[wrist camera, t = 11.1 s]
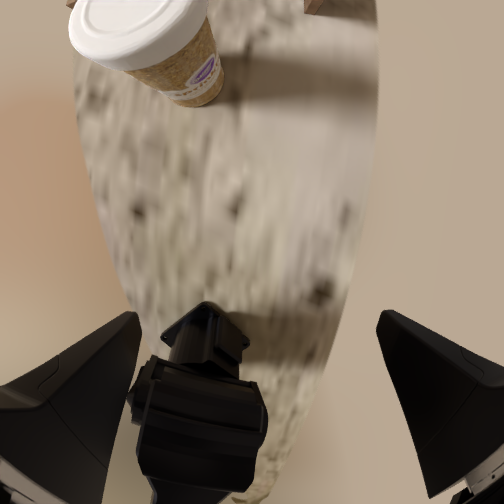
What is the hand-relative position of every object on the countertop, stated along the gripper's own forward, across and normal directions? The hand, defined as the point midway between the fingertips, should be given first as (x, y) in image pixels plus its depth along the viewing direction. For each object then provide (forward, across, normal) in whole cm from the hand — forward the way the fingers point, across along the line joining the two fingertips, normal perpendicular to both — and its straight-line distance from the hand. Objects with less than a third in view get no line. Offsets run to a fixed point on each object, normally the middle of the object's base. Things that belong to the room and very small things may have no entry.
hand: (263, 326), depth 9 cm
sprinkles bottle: (+13, +4, -11) cm, 18 cm away
